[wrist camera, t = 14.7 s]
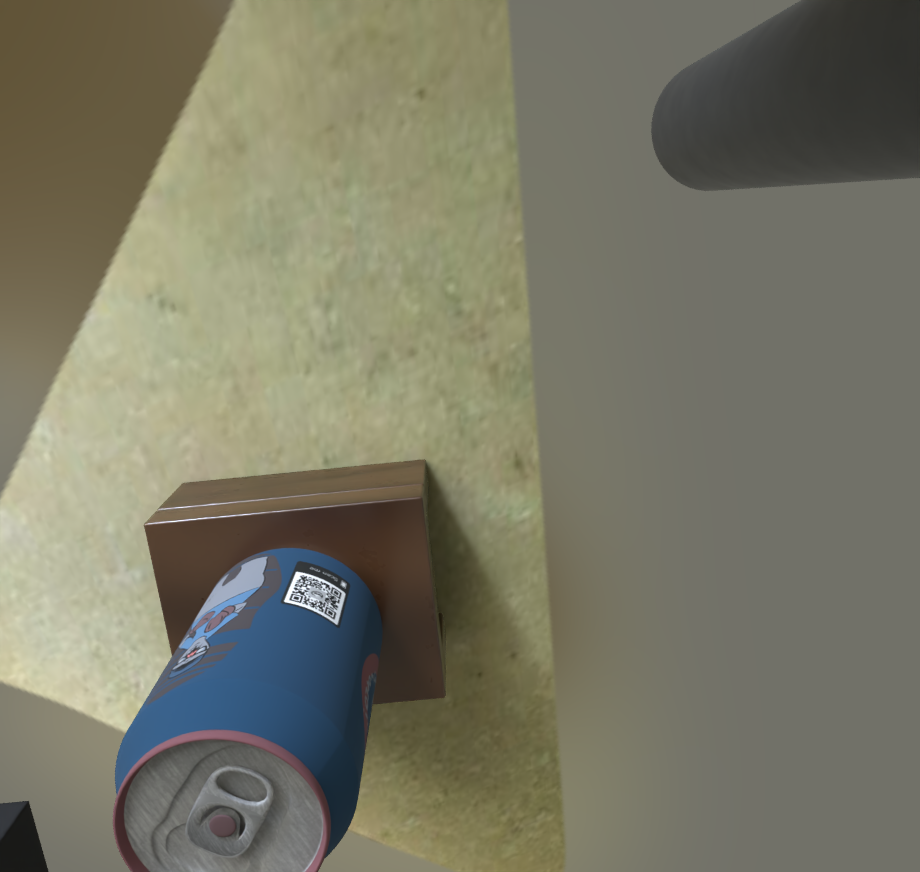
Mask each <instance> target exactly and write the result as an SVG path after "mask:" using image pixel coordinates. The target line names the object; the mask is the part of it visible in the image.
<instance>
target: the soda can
mask: <svg viewBox="0 0 920 872" xmlns="http://www.w3.org/2000/svg"><path fill="white" fill-rule="evenodd" d="M382 634H383V630H382V621H381V616H380V611H379V608H378V606H377V603H376V601H375V599H374V597H373V595H372V593H371V592H370V590H369V588H368V587H367V586H366V584H365V583H364V582H363V581H362V579H361V578H360V577H359V576H358V575H357V574H356V573H355V572H353V571H352V570H351V569H350V568H349V567H347V566H346V565H344V564H343V563H341V562H340V561H338V560H336V559H334V558H332V557H330V556H328V555H325V554H322V553H319V552H316V551H312V550H307V549H300V548H281V549H273V550H268V551H264V552H261V553H258V554H255V555H253V556H250V557H248V558H246V559H244V560H242V561H241V562H239V563H238V564H236V565H235V566H234V567H232V568H231V569H230V570H229V571H228V572H227V573H225V574H224V576H223V577H222V578H221V579H220V580H219V581H218V583H217V584H216V586H215V587H214V589H213V590H212V592H211V594H210V595H209V597H208V599H207V600H206V602H205V603H204V605H203V607H202V608H201V610H200V612H199V613H198V615H197V617H196V618H195V620H194V622H193V623H192V625H191V627H190V628H189V630H188V632H187V633H186V635H185V636H184V638H183V640H182V641H181V643H180V645H179V646H178V648H177V650H176V651H175V653H174V655H173V656H172V658H171V660H170V661H169V663H168V664H167V666H166V668H165V669H164V671H163V673H162V674H161V676H160V678H159V679H158V681H157V683H156V684H155V686H154V688H153V689H152V691H151V693H150V694H149V696H148V697H147V699H146V701H145V702H144V704H143V706H142V707H141V709H140V711H139V712H138V714H137V716H136V717H135V719H134V721H133V722H132V724H131V726H130V727H129V729H128V730H127V732H126V734H125V736H124V738H123V740H122V743H121V745H120V749H119V752H118V756H117V761H116V768H115V784H116V793H117V797H116V801H115V805H114V811H113V829H114V835H115V839H116V843H117V846H118V849H119V852H120V854H121V856H122V858H123V860H124V861H125V863H126V865H127V866H128V868H129V869H130V870H131V871H132V872H318V870H319V869H320V867H321V864H322V862H323V860H324V858H326V857H327V856H328V855H329V854H330V853H331V852H332V850H333V849H334V848H335V847H336V846H337V844H338V843H339V842H340V841H341V839H342V838H343V836H344V834H345V833H346V831H347V829H348V827H349V825H350V823H351V821H352V819H353V816H354V813H355V810H356V806H357V801H358V794H359V788H360V781H361V775H362V769H363V762H364V756H365V749H366V743H367V736H368V730H369V723H370V717H371V710H372V704H373V697H374V691H375V684H376V678H377V671H378V665H379V658H380V652H381V645H382Z"/></svg>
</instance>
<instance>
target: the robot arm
mask: <svg viewBox="0 0 920 872" xmlns="http://www.w3.org/2000/svg"><path fill="white" fill-rule="evenodd" d="M0 872H48V868H47V865H46V861H45V858H44V854H43V851H42V847H41V843H40V840H39V836H38V833H37V829H36V826H35V822H34V819H33V815H32V812H31V808H30V805H29V801H23V802H12V803H3V804H0Z"/></svg>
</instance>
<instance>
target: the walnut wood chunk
mask: <svg viewBox="0 0 920 872" xmlns="http://www.w3.org/2000/svg"><path fill="white" fill-rule="evenodd" d="M428 492H429V485H428V476H427V467H426V460H415V461H404V462H394V463H384V464H374V465H364V466H353V467H343V468H333V469H323V470H312V471H302V472H292V473H282V474H272V475H261V476H251V477H241V478H231V479H221V480H210V481H200V482H190V483H183V484H181V486H180V487H179V488H178V489H177V490H176V491H175V492H174V493H173V494H172V495H171V496H170V497H169V498H168V499H167V500H166V501H165V502H164V503H163V504H162V505H161V506H160V507H159V509H158V510H157V511H156V512H155V513H154V514H153V515H152V516H151V517H150V518H149V520H148V521H147V522H146V523H145V524H144V527H145V532H146V536H147V541H148V546H149V550H150V555H151V560H152V564H153V569H154V574H155V578H156V583H157V588H158V592H159V597H160V602H161V606H162V611H163V616H164V620H165V625H166V630H167V634H168V639H169V644H170V648H171V653H172V656H173V655H174V653H175V651H176V650H177V648H178V646H179V645H180V643H181V641H182V640H183V638H184V636H185V635H186V633H187V632H188V630H189V628H190V627H191V625H192V623H193V622H194V620H195V618H196V617H197V615H198V613H199V612H200V610H201V608H202V607H203V605H204V603H205V602H206V600H207V599H208V597H209V595H210V594H211V592H212V590H213V589H214V587H215V586H216V584H217V583H218V581H219V580H220V579H221V578H222V577H223V576H224V574H225V573H227V572H228V571H229V570H230V569H231V568H232V567H234V566H235V565H236V564H238V563H239V562H241V561H242V560H244V559H246V558H248V557H250V556H253V555H255V554H258V553H261V552H264V551H268V550H273V549H281V548H300V549H307V550H312V551H316V552H319V553H322V554H325V555H328V556H330V557H332V558H334V559H336V560H338V561H340V562H341V563H343V564H344V565H346V566H347V567H349V568H350V569H351V570H352V571H353V572H355V573H356V574H357V575H358V576H359V577H360V578H361V579H362V581H363V582H364V583H365V584H366V586H367V587H368V588H369V590H370V592H371V593H372V595H373V597H374V599H375V601H376V603H377V606H378V608H379V611H380V616H381V621H382V630H383V634H382V645H381V652H380V658H379V665H378V671H377V678H376V684H375V691H374V697H373V704H382V703H393V702H403V701H414V700H425V699H435V698H444V697H445V696H446V635H445V626H444V617H443V613H438V605H437V597H436V588H435V579H434V571H433V562H432V553H431V545H430V536H429V527H428V519H427V508H428Z"/></svg>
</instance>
